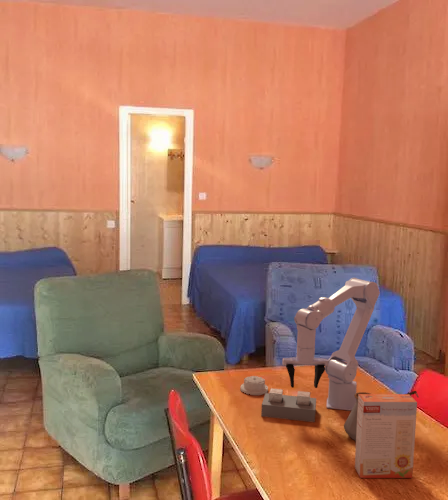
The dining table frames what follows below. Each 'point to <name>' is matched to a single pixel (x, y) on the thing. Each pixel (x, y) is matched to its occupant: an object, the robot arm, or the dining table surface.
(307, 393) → the pink matte cube
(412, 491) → the dining table surface
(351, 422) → the coffee pot
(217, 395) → the dining table surface
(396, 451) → the cracker box
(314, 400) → the block
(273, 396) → the greyish pink cube
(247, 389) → the mechanical component
